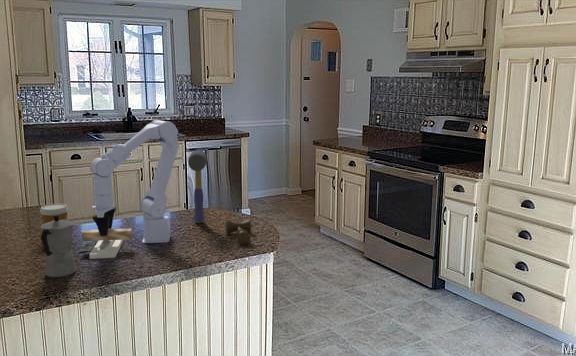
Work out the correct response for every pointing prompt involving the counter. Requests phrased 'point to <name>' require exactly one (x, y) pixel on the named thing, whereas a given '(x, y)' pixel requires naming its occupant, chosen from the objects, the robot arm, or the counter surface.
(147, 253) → the counter surface
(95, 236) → the oak bar
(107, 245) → the ridge block
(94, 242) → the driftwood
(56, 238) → the coffeepot
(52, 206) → the disposable coffee cup
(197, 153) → the rubber mallet
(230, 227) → the kendama
